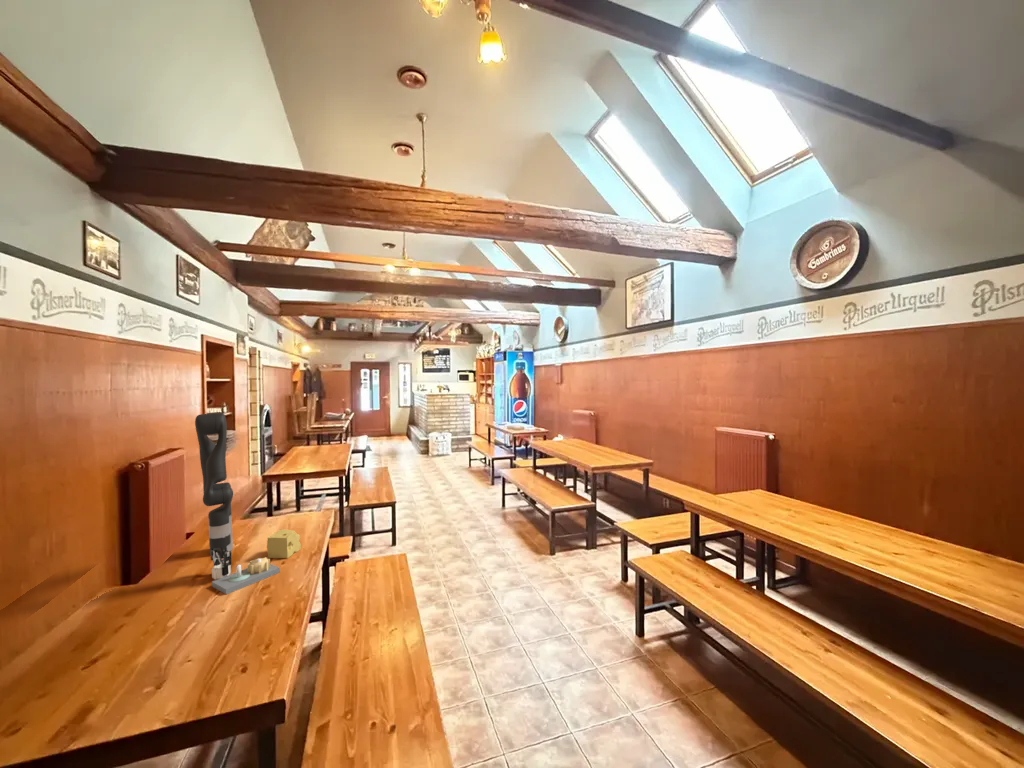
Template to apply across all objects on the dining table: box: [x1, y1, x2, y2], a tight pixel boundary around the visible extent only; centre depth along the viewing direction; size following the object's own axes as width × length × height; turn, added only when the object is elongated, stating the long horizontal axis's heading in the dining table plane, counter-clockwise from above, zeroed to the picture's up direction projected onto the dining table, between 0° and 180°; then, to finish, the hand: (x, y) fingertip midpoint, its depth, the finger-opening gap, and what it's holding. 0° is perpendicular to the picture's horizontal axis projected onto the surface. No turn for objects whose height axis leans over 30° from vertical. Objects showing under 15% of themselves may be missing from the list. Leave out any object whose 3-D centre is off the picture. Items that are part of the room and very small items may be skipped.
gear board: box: [211, 556, 281, 595], centre depth 177 cm, size 12×21×7 cm, turn 148°
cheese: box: [266, 528, 302, 559], centre depth 202 cm, size 10×11×10 cm
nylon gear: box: [211, 563, 232, 580], centre depth 181 cm, size 6×6×4 cm
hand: (221, 572), depth 181 cm, fingers closed on nylon gear, 6 cm apart
